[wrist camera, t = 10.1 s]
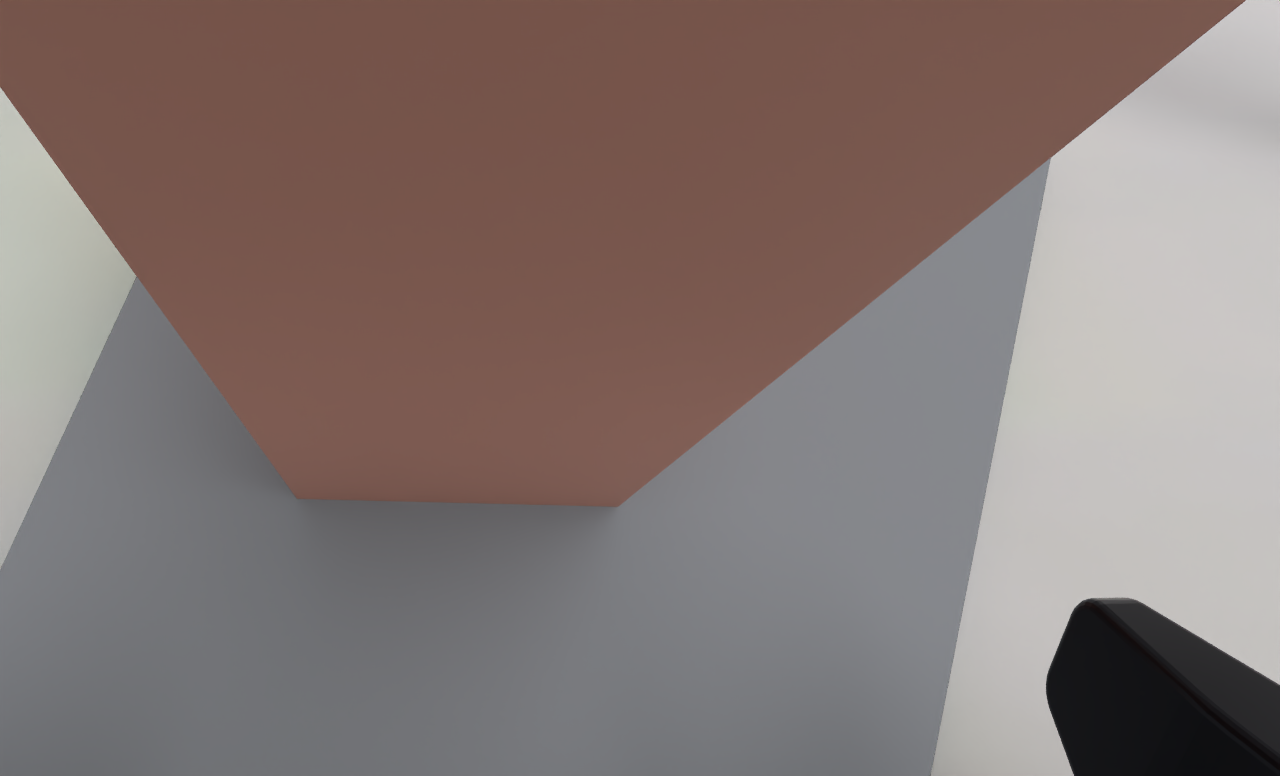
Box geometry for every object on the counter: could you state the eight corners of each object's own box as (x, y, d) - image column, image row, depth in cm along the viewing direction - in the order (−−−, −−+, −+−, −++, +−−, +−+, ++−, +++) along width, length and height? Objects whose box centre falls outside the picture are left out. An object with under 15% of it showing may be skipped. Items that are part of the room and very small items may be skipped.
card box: (618, 506, 16) (1318, -58, 4) (297, 498, 15) (-267, -287, 3) (619, 190, 17) (1138, -1049, 5) (322, 166, 16) (15, -1421, 4)
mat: (767, 1536, 13) (777, 1562, 13) (-324, 1299, 12) (-348, 1318, 12) (1039, 157, 19) (1052, 147, 19) (327, -114, 18) (325, -130, 17)
